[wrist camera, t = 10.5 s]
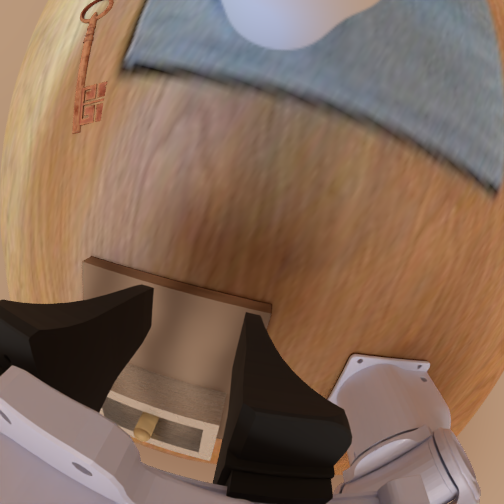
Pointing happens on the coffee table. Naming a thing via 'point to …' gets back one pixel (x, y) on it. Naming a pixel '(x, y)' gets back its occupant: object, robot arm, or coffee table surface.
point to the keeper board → (180, 330)
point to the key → (80, 87)
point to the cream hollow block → (167, 410)
